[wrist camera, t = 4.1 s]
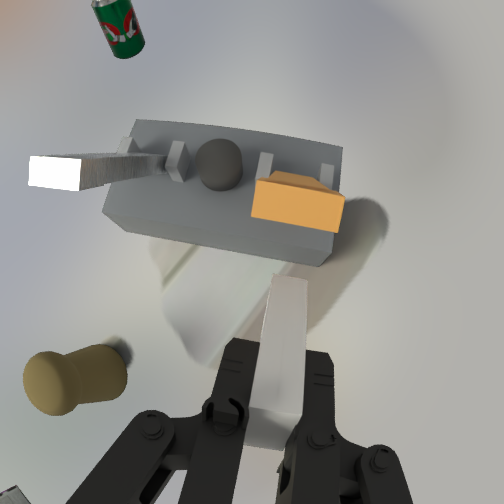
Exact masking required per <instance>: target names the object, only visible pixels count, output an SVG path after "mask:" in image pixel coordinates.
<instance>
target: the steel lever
mask: <svg viewBox="0 0 504 504" xmlns="http://www.w3.org/2000/svg"><path fill="white" fill-rule="evenodd" d="M167 158H168V156H167V155H158V154H148V153H90V154H68V155H47V156H33V157H31V158H30V174H29V175H30V176H29V185H35V186H44V187H52V188H61V189H68V190H76V191H80V190H85V189H89V188H94V187H99V186H103V185H104V184H107V183H112V182H118V181H123V180H129V179H135V178H140V177H146V176H153V175H159V174H165V173H167V169H166V167H165V164H166V161H167Z"/></svg>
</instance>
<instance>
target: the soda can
mask: <svg viewBox="0 0 504 504" xmlns="http://www.w3.org/2000/svg"><path fill="white" fill-rule="evenodd" d="M91 6H92V8H93V10H94V13H95V15H96V17H97V19H98V21H99V24H100V26H101V28H102V30H103V32H104V35H105V37H106V39H107V41H108V43H109V45H110V48H111V50H112V52H113V54H114V56H115V57H117V58H120V59H128V58H131V57H133V56H135V55H137V54H138V53H139V52H140V51H141V50H142V49H143V47H144V45H145V41H144V38H143V35H142V32H141V29H140V26H139V23H138V20H137V17H136V14H135V11H134V9H133V6H132V3H131V0H92V4H91Z"/></svg>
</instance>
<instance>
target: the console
mask: <svg viewBox="0 0 504 504" xmlns="http://www.w3.org/2000/svg"><path fill="white" fill-rule="evenodd" d="M213 139H227V140H230V141H232V142H234V143H235V144H236V145H237V146H238V147H239V149H240V151H241V155H242V166H243V175H242V178H241V180H240V182H239V183H238V184H237V185H236V186H235V187H233V188H232V189H230V190H227V191H213V190H211V189H209V188H207V187H206V186H205V185H204V184H203V183H202V181H201V178H200V175H199V173H198V170H197V167H196V164H195V156H196V153H197V151H198V149H199V148H200V147H201V146H202V145H203V144H204V143H206V142H208V141H210V140H213ZM342 149H343V147H339V146H335V145H330V144H325V143H321V142H316V141H310V140H305V139H300V138H294V137H289V136H283V135H277V134H271V133H265V132H259V131H252V130H244V129H237V128H230V127H222V126H213V125H204V124H194V123H183V122H170V121H156V120H139V119H136V121H135V124H134V126H133V128H132V131H131V133H130V136H129V137H123V138H122V140H121V143H120V145H119V148H118V150H117V152H116V153H148V154H158V155H167V156H168V158H167V161H166V164H165V167H166V169H167V173H165V174H159V175H153V176H146V177H140V178H135V179H129V180H123V181H118V182H112V183H111V186H110V189H109V191H108V195H107V197H106V201H105V203H104V207H103V210H102V212H103V213H104V214H105V215H106V216H107V217H109V218H110V219H111V220H112V221H113V222H115V223H116V224H117V225H118V226H120V227H121V228H122V229H123V230H125V231H126V232H131V233H137V234H142V235H147V236H153V237H158V238H163V239H169V240H174V241H179V242H185V243H190V244H196V245H201V246H206V247H212V248H217V249H223V250H228V251H233V252H239V253H244V254H250V255H255V256H261V257H266V258H271V259H277V260H282V261H288V262H293V263H299V264H304V265H310V266H315V267H319V266H320V265H321V264H322V263H323V262H324V260H325V259H326V258H327V257H328V256H329V255H330V254H331V253H332V248H333V240H334V232H330V231H325V230H320V229H315V228H310V227H304V226H299V225H294V224H288V223H283V222H278V221H272V220H267V219H261V218H255V217H251V212H252V206H253V200H254V194H255V187H256V181H257V180H258V179H259V178H261V177H264V178H268V177H269V176H270V175H271V174H272V173H274V172H275V171H281V172H287V173H292V174H298V175H303V176H308V177H313V178H314V179H316V180H317V181H319V182H320V183H321V184H323V185H324V186H326V187H327V188H328V189H330V190H333V191H337V192H339V185H340V174H341V162H342Z"/></svg>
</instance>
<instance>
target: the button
mask: <svg viewBox="0 0 504 504" xmlns="http://www.w3.org/2000/svg"><path fill="white" fill-rule="evenodd" d="M195 164H196V167H197V170H198V173H199V175H200V178H201V181H202V183H203V184H204V185H205V186H206V187H207V188H209V189H211V190H213V191H227V190H230V189H232V188H233V187H235V186H236V185H237V184H238V183H239V182H240V180H241V178H242V175H243V166H242V155H241V151H240V149H239V147H238V146H237V145H236V144H235V143H234V142H232V141H230V140H227V139H213V140H210V141H208V142H206V143H204V144H203V145H202V146H201V147H200V148H199V149H198V151H197V153H196V156H195Z"/></svg>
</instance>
